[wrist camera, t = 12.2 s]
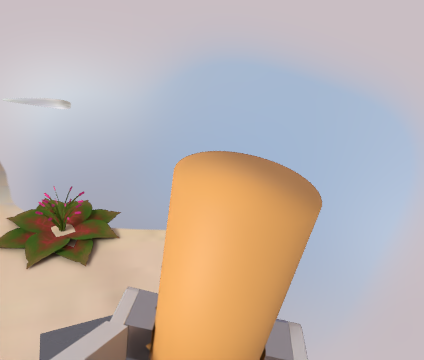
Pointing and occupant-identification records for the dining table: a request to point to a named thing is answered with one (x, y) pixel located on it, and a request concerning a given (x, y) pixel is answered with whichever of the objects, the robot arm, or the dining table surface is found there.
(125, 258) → the dining table surface
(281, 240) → the orange cylinder
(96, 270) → the dining table surface
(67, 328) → the gray square socket block
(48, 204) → the green flowering plant
